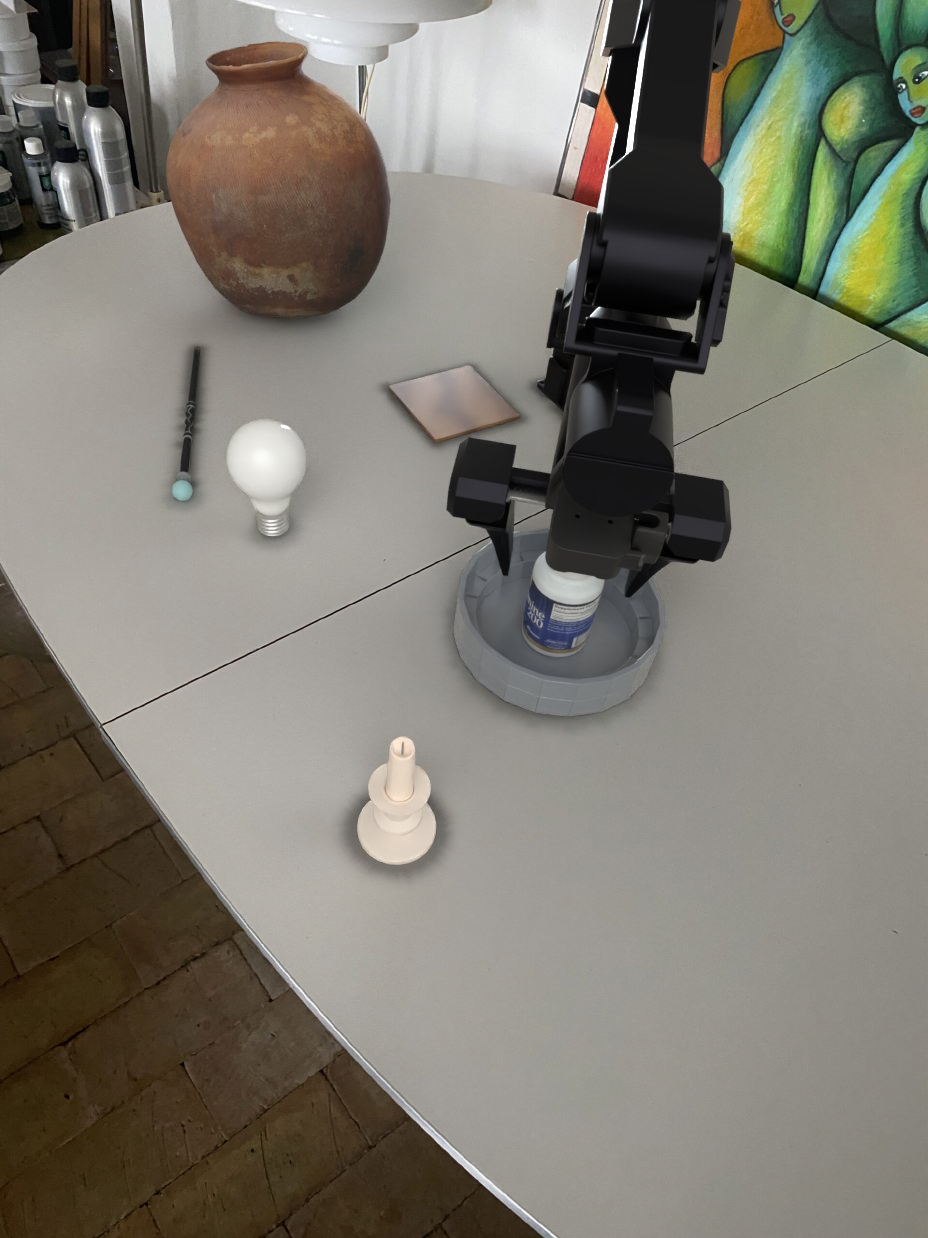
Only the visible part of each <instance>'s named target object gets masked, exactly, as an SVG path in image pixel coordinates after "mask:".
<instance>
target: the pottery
mask: <svg viewBox="0 0 928 1238" xmlns="http://www.w3.org/2000/svg"><path fill="white" fill-rule="evenodd" d="M308 52H309V51H308V48H307V47H306V45H304V44H302V43H299V42H296V41H292V42H289V41H279V40H274V41H265V42H258V43H249V44H246V45H242V46H234V47H231V48H227V49H223V50H219V51H216V52H214V53H212V54H210V55H209V56H208V57H207V58H206V60H205V61H204V62H205V65H206V67H207V68H208V69H209V70H210V71H211V72H212V73H213V74H214V75H215V76H216V78H217V79H218V84H217V85H216V87H215V89H213V91H211V92H210V93H209V94H208V95H206V97H204V98H203V99H202V100H201V101H200V102H198V104H197V105H196V106H195V107H192V109H191V110H190V112H189V113H188V114H187V116H185V118H184V119H183V121H182V122H181V124H180V125H179V127H178V128H177V130H176V132H175V134H174V136H173V138H172V140H171V142H170V145H169V148H168V153H167V157H166V163H165V168H166V169H165V176H166V186H167V190H168V194H169V198H170V202H171V205H172V209H173V211H174V215H175V217H176V219H177V222H178V225H179V227H180V229H181V232H182V234H183V236H184V239H185V241H186V243H187V245H188V247H189V249H190V251H191V253H192V256H193V258H194V260H195V262H196V263H197V265H198V266H199V269H200V270H201V271H202V272H203V274H204V276H205V278H206V279H207V280H208V281H209V283H210V284H211V286H212V287H213V288H214V289H215V290H216V291H217V292H218V293H219V294H220V295H221V296H222V297H224V298H225V299H226V300H227V301H228V302H230V304H232V305H233V306H235V307H236V308H238V309H239V310H240V311H243V312H245V313H248V314H250V315H255V316H260V317H261V316H262V317H270V318H287V319H288V318H291V319H296V318H297V319H299V318H311V317H312V318H313V317H317V316H322V315H326V314H330V313H332V312H335V311H337V310H340V309H341V308H342V307H344V306H346V305H348V304H349V303H351V302H353V300H355V299H356V298H357V297H358V296H359V295H360V294H361V293H362V292H363V291H364V290H365V288H366V287H367V286H368V284H369V283H370V281H371V279H372V278H373V276H374V274H375V272H376V271H377V269H378V266H379V263H380V262H381V259H382V256H383V254H384V250H385V247H386V243H387V236H388V228H389V223H390V216H391V202H392V201H391V191H390V184H389V178H388V172H387V167H386V162H385V159H384V155H383V154H382V151H381V148H380V145H379V142H378V141H377V139H376V136H375V135H374V133H373V131H372V129H371V128H370V126H369V124H368V123H367V121H366V120H365V117H363V116H362V115H361V113H359V111H358V110H357V109H356V108H355V107H354V106H353V105H352V104H351V103H350V102H348V101H347V100H346V99H345V98H344V97H343V96H342V95H341V94H339V93H338V92H337V91H335V90H333V89H332V88H330V87H328V86H327V85H325V84H323V83H321V82H318V80H315V79H313V78H311V77H309V75H307V74H305V73H304V70H303V69H302V68H303V65H304V62H305V61H306V59H307V57H308V54H309V53H308Z"/></svg>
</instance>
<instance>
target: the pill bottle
mask: <svg viewBox="0 0 928 1238" xmlns="http://www.w3.org/2000/svg"><path fill="white" fill-rule="evenodd" d="M545 553H546V551H545V552H544V553H543V554H541V555H540V556H539V558H538V559H537V560H536V562H535V565H534V568H533V572H532V577H531V581H530V586H529V591H528V595H527V601H526V605H525V610H524V615H523V620H522V634H523V637H524V639H525V640H526V642H527V644H528V645H529V646H530V647H531V648H533V649H534V650H535V651H537V652H539V653H541V654H543V655H546V656H550V657H566V656H570V655H573V654H575V653H577V652H578V651H580V650H581V649H582V648H583V646H584V645H585V643H586V641H587V638H588V636H589V633H590V629H591V626H592V622H593V619H594V616H595V613H596V610H597V606H598V603H599V600H600V597H601V593H602V590H603V588H604V582H605V580H604V579H598V578H596V577H594V576H589V575H583V574H577V573H572V572H566V573H564V572H559V571H555V570H553V569H552V568H550V567H549V566H548V564H547V562H546V559H545Z"/></svg>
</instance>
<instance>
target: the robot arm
mask: <svg viewBox="0 0 928 1238" xmlns="http://www.w3.org/2000/svg"><path fill="white" fill-rule="evenodd" d="M741 8H742V1H741V0H609V5H608V10H607V16H606V17H607V18H606V21H605V27H604V32H603V39H602V44H601V51H600V57H603V58H608V63H607V65H608V66H607V71H606V78H605V85H604V92H603V94H604V98H605V100H606V102H607V104H608V107H609V109H610V111H611V113H612V116H613V119H614V121H615V125H614V126H615V127H614V131H613V136H612V140H611V145H610V149H609V152H608V159H607V163H606V168H605V173H604V177H603V181H602V186H601V191H600V195H599V200H598V204H597V209H596V212H595V211H591V210H590V211H589V210H587V211H586V214H585V219H584V224H583V229H582V232H581V233H582V234H581V238H580V245H579V250H578V256H577V258H576V259H574V260H573V261H572V262H571V263H569V265H567V270H566V275H565V279H564V285H563V288H558V287H556V288H555V289H556V290H555V293H554V297H553V298H554V299H553V304H552V309H551V315H550V320H549V326H548V332H547V340H546V349H550V350H551V349H552V355H551V356H550V357H549V358H548V361H547V367H546V373H545V378H541V379H539V380H537V382H536V387H537V388H538V389H539V391H541V392H542V393H543V394H544V395H545V396H546V397H547V398H548V399H549V400H551V401H552V403H554V404H555V405H556V406H557V407H558V408H559V409H560V410H561V411H562V413H563V414H562V418H561V423H560V427H559V431H558V437H557V441H556V447H555V450H554V456H553V461H552V466H551V471H550V472H544V471H539V470H534V469H527V468H522V467H515V466H514V462H515V457H516V452H517V444H512V443H506V442H501V441H494V440H488V439H483V438H477V437H472V436H468V437H467V438H466V439H464V440H463V441H462V442H460V443H459V445H458V449H457V452H456V455H455V459H454V463H453V468H452V471H451V474H450V479H449V485H448V489H447V498H446V508H445V510H446V511H447V512H448V513H449V515H451V516H452V518H458V519H459V518H460V519H464V520H465V522H466V524H467V525H469V526H471V527H477V528H480V529H484V530H485V531H486V533H487V534H488V536H489V538H490V541H491V542H492V543H493V545H494V548H495V552H496V555H497V558H498V561H499V565H500V568H501V571H502V574H503V576H508V574H509V569H510V563H511V558H512V552H513V535H514V533H515V532H514V529H515V509H516V502H519V503H526V504H529V505H530V504H531V505H538V506H542V507H544V508H545V509H547V510H552V513H551V517H550V524H549V528H548V529H549V536H548V542H547V547H546V553H545V559H546V562H547V564H548V566H549V567H550V568H552V569H553V570H555V571H559V572H564V573H566V572H572V573H577V574H583V575H589V576H594V577H596V578H598V579H604V580H608V579H612V578H614V577H616V576H617V575H618V574H619V572H620V570H621V568H625V569H630V570H629V574H628V577H627V581H626V585H625V594H624V596H625V597H627V598H630V597H631V596H632V595H633V594H634V593H636V592H637V591H638V590H639V589H640V588H641V587H642V586H643V585H644V584H645V583H646V582H647V581H648V580H649V579H650V578H651V577H652V578H653V576H655V575H656V574H657V573H658V572H659V571H661V570H662V569H663V568H665V567H667V566H668V565H670V564H671V563H682V564H688V565H689V564H690V565H694V564H697V563H698V562H699V561H704V562H710V563H715V562H716V561H719V560H720V559H722V558H723V555H724V554H725V551H726V549H727V547H728V544H729V542H730V538H731V533H732V527H733V526H732V517H731V503H730V490H729V488H728V487H727V484H726V483H725V481H724V480H723V479H716V478H711V477H705V476H700V475H699V476H698V475H694V474H687V473H681V472H677V471H676V472H675V446H674V412H673V397H672V392H671V391H672V390H671V388H672V383H673V381H674V377H675V374H676V372H682V373H689V374H695V375H701V376H704V375H705V373H706V370H707V366H708V362H709V356H710V351H711V348H717V347H718V346H719V345H720V344H721V343H722V341H723V337H724V331H725V325H726V321H727V314H728V308H729V303H730V298H731V297H730V296H731V290H732V285H733V279H734V273H735V267H736V258H735V256H734V254H733V252H732V251H733V247H734V241H733V240H732V235H731V233H730V232H725V231H724V212H725V210H724V208H725V207H724V206H725V205H724V204H725V202H724V201H725V188H724V185H723V183H722V182H721V181H720V180H719V178H718V177H717V176H716V175H715V173H714V172H713V170H712V169H711V168H710V167H709V166H708V164H707V163H706V161H705V160H704V159H705V144H706V143H705V142H706V133H707V125H708V124H707V123H708V114H709V105H710V96H711V95H710V94H711V84H712V74H716V75H717V74H719V73H721V72H722V71H724V70H725V69H726V68H727V67H728V63H729V60H730V54H731V50H732V46H733V42H734V38H735V33H736V30H737V24H738V21H739V17H740V13H741V12H740V11H741ZM698 301H699V306H698V305H697V304H698ZM697 306H698V313H697V321H696V326H695V334H694V335H693V333H692V332H690V331H685V330H677V329H673V328H672V325H671V323H670V321H669V319H672V320H679V321H686V322H687V320H689V319H690V318H693V316H694V315H695V312H696V309H697ZM693 336H694V337H693ZM693 338H694V341H692V340H693Z"/></svg>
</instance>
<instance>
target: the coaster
mask: <svg viewBox="0 0 928 1238" xmlns="http://www.w3.org/2000/svg"><path fill="white" fill-rule="evenodd" d="M388 390H389V391H390V393H391V394H392V395H393V396H394V398H396V399H397V401H398V402H399V403H400V404H401V405H402V407H404V409H405V410H406V411H407V412H408V413H409V415H411V417H412V418H413V419H414V420H415V421H416V422H417V423H418V424H419V426H420V427H421V428H422V429H423V430H424V432H425V433H426V434H427V435H428V436H429V437H430V438H431V439H432V440H433V442H434V443H436V444H437V443H440V442H443V441H447V440H450V439H454V438H457V437H460V436H465V435H467V434H470V433H475V432H478V431H481V430H485V429H487V428H491V427H494V426H498V425H501V424H506V423H509V422H512V421H515V420H519V419H520V418H521V415H520V413H519V412H518V411H516V409H514V407H513V406H512V405H511V404H510V403H508V402H507V401H506V400H505V399H504V397H502V395H501V394H499V392H498V391H496V389H495V388H493V386H492V385H490V383H489V382H488V381H487V380H486V379H485V378H484V377H482V375H481V374H480V373H479V372H478V371H477V370H476V369H475V368H474V367H472V365H470V364H468V365H464V366H461V367H457V368H453V369H449V370H445V371H441V372H437V373H434V374H430V375H426V376H421V377H418V378H413V379H410V380H406V381H401V382H398V383H395V384H391V385H388Z"/></svg>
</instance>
